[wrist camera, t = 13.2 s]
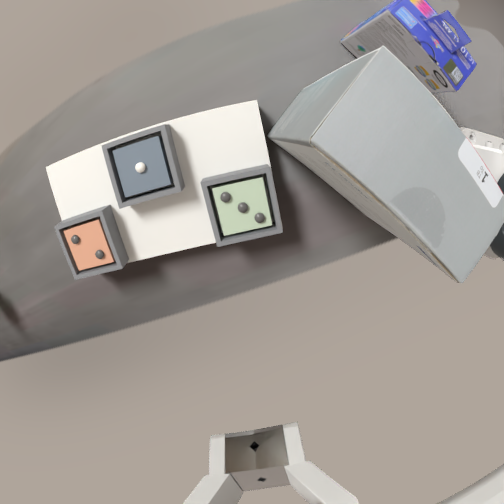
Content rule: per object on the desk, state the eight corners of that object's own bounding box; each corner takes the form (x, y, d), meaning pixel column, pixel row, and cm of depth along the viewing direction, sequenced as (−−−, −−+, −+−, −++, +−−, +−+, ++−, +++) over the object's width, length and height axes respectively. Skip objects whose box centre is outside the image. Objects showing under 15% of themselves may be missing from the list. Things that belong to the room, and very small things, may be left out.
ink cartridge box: (417, 74, 30) (495, 64, 16) (395, 99, 31) (473, 96, 18) (364, 18, 27) (427, -23, 13) (338, 42, 28) (397, 2, 15)
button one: (162, 135, 29) (157, 135, 26) (174, 181, 30) (170, 184, 28) (119, 149, 29) (111, 151, 27) (131, 193, 31) (124, 198, 28)
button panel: (254, 102, 31) (258, 97, 26) (278, 219, 36) (286, 235, 31) (58, 163, 31) (34, 170, 26) (91, 263, 37) (74, 283, 32)
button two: (105, 214, 31) (97, 220, 29) (119, 254, 33) (112, 263, 31) (71, 225, 31) (62, 232, 29) (85, 263, 33) (78, 271, 31)
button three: (260, 174, 31) (262, 177, 29) (269, 219, 33) (272, 226, 31) (213, 184, 31) (211, 189, 29) (224, 229, 33) (223, 236, 31)
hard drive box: (397, 167, 35) (514, 212, 16) (362, 213, 37) (460, 292, 18) (302, 84, 30) (386, 42, 12) (263, 136, 32) (305, 146, 14)
